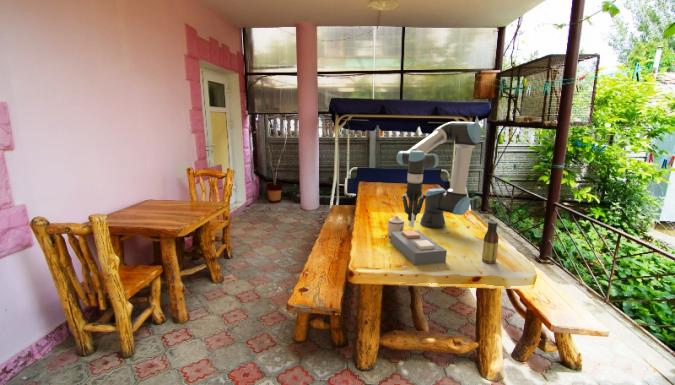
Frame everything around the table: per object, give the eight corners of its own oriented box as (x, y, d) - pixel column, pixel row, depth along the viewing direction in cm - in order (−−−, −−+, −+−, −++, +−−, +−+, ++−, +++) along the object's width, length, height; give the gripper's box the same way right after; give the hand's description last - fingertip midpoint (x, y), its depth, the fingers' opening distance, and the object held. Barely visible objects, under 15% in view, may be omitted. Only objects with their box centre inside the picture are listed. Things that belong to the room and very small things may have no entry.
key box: (417, 240, 177) (418, 230, 175) (445, 262, 150) (446, 250, 149) (390, 242, 173) (391, 232, 171) (414, 265, 146) (415, 253, 145)
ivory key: (426, 247, 158) (427, 239, 157) (433, 253, 152) (434, 245, 151) (413, 248, 157) (413, 240, 156) (420, 254, 150) (420, 246, 149)
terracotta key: (413, 237, 171) (413, 230, 171) (419, 242, 165) (420, 234, 164) (401, 238, 170) (401, 231, 169) (407, 243, 163) (407, 235, 162)
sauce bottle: (491, 258, 155) (497, 219, 151) (498, 264, 149) (504, 223, 145) (478, 258, 155) (483, 219, 151) (484, 264, 149) (490, 223, 145)
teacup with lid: (401, 239, 178) (403, 219, 175) (385, 236, 181) (386, 217, 179) (405, 232, 189) (406, 213, 186) (390, 230, 192) (391, 211, 190)
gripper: (406, 183, 155) (402, 229, 160) (430, 183, 158) (426, 228, 164) (399, 180, 162) (396, 224, 168) (422, 180, 165) (419, 223, 171)
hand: (411, 226), depth 166 cm, fingers closed
